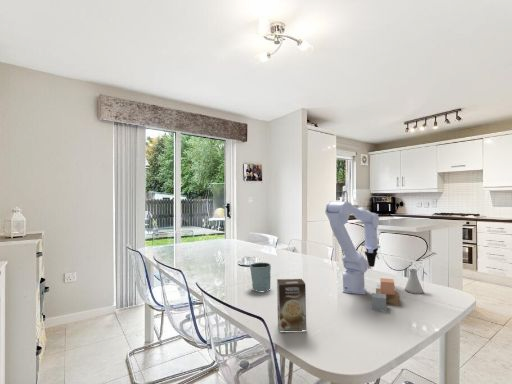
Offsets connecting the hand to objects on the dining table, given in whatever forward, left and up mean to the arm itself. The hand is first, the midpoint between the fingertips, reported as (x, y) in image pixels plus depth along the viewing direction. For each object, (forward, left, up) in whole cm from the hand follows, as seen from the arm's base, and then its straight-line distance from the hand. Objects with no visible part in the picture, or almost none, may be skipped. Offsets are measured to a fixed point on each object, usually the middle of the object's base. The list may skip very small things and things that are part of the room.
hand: (372, 264), depth 138 cm
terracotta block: (+6, -20, -6) cm, 22 cm away
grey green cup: (-50, -24, -10) cm, 56 cm away
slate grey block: (+3, -29, -10) cm, 31 cm away
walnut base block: (+6, -20, -10) cm, 23 cm away
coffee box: (-24, -57, -10) cm, 63 cm away
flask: (+17, -4, -10) cm, 21 cm away
